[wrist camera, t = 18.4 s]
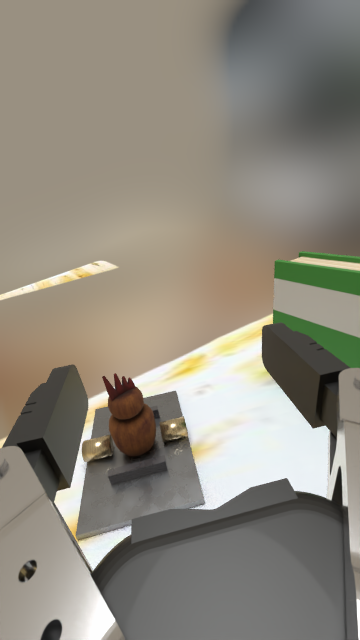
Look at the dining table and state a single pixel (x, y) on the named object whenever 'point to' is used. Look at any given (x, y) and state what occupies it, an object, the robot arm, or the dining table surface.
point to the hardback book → (321, 301)
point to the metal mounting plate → (137, 472)
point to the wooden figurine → (130, 418)
